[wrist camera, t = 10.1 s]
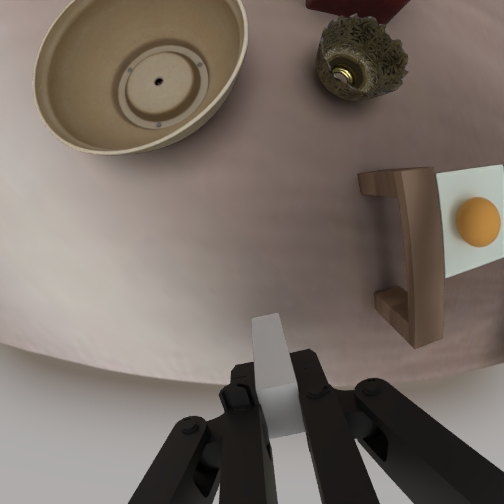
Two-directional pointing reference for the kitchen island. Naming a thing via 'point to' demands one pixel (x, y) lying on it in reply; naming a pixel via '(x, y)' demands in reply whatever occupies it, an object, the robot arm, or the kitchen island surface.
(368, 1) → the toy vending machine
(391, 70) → the green lump
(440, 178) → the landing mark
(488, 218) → the ball
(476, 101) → the kitchen island surface
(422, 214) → the bridge
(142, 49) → the planter bowl
